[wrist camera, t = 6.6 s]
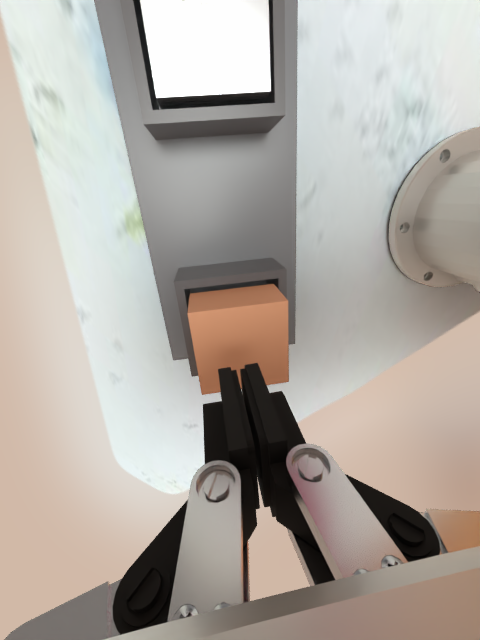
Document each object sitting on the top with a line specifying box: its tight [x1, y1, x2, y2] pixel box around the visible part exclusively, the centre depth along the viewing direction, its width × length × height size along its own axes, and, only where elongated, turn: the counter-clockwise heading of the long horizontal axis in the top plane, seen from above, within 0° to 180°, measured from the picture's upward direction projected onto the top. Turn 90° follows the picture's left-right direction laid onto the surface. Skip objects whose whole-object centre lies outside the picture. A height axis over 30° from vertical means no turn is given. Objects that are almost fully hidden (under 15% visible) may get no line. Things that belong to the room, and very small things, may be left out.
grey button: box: [140, 0, 271, 110], centre depth 12 cm, size 5×5×3 cm
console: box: [94, 0, 298, 376], centre depth 17 cm, size 22×10×8 cm, turn 5°
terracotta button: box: [187, 284, 289, 395], centre depth 15 cm, size 5×5×3 cm
